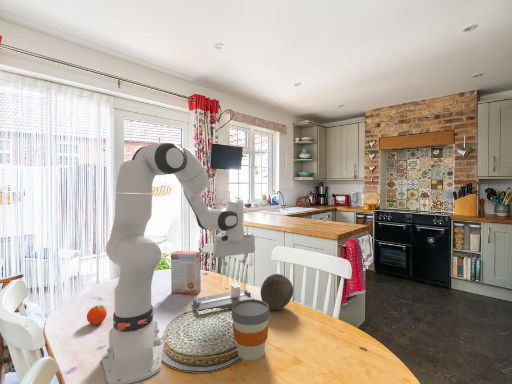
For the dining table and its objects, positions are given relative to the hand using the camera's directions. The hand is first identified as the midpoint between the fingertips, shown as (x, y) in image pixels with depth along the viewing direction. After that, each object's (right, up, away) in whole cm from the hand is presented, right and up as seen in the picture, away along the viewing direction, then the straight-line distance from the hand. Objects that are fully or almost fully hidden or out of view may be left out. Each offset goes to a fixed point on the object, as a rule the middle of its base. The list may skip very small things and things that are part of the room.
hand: (234, 264), depth 126 cm
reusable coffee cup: (+8, -19, -38) cm, 44 cm away
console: (-5, -18, -3) cm, 19 cm away
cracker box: (-26, -18, +12) cm, 34 cm away
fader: (0, -15, 0) cm, 15 cm away
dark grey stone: (+19, -18, -8) cm, 28 cm away
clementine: (-54, -19, -19) cm, 60 cm away
